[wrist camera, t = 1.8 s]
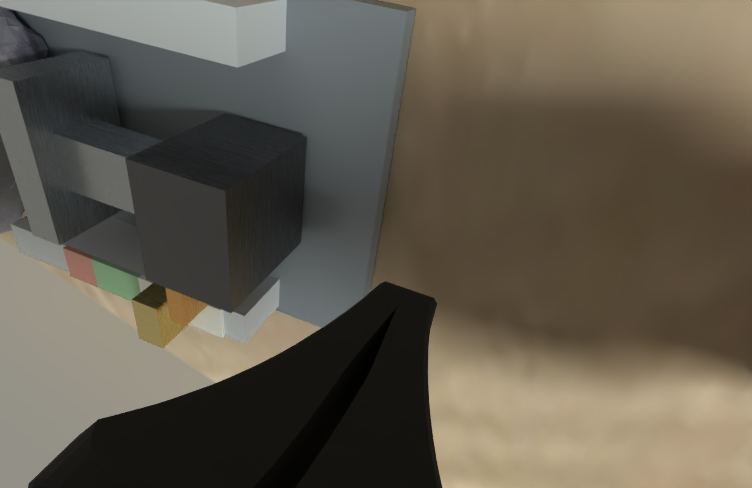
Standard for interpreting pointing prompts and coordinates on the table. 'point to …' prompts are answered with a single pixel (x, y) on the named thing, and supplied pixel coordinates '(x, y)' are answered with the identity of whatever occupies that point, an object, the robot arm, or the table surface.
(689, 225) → the table surface
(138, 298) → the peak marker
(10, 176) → the stone block
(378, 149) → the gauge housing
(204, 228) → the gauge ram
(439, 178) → the table surface
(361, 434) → the robot arm
